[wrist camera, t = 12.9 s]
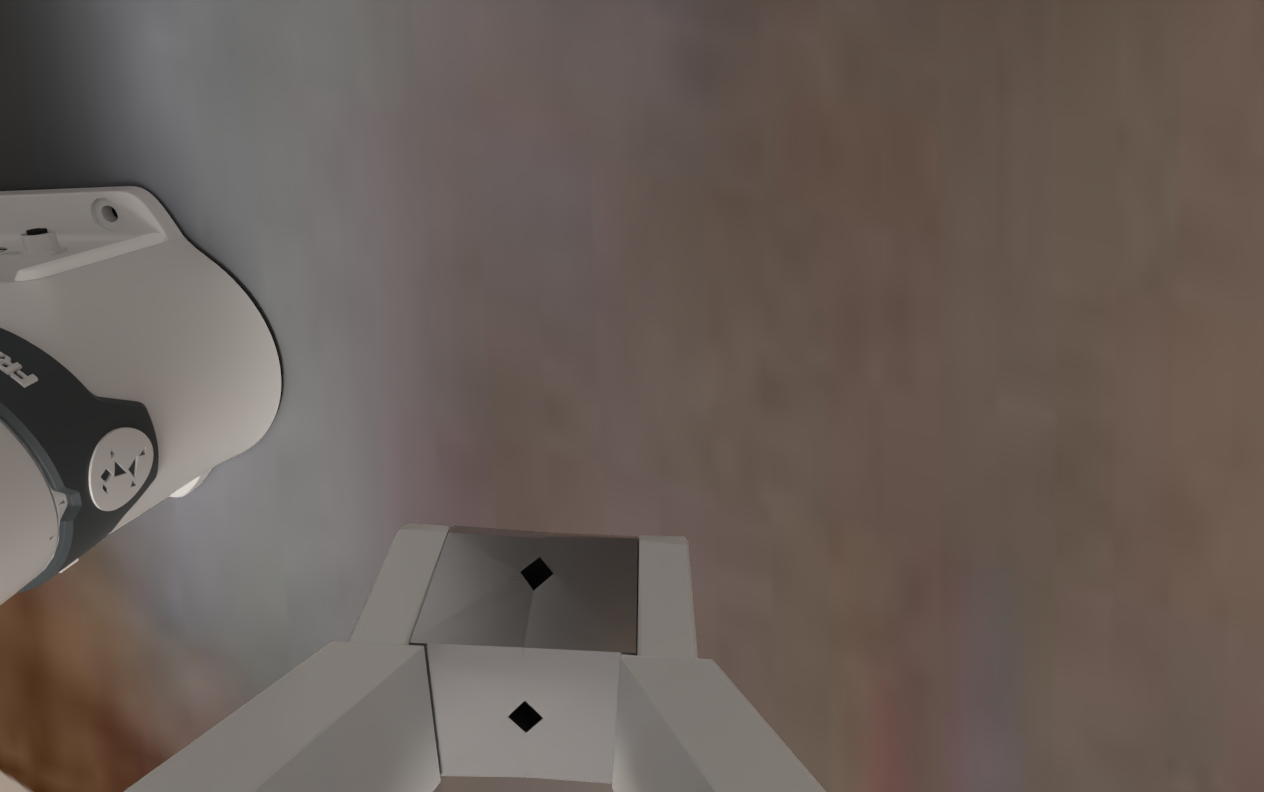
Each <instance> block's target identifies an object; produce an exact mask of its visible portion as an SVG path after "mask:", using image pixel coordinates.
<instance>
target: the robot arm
mask: <svg viewBox="0 0 1264 792" xmlns="http://www.w3.org/2000/svg"><path fill="white" fill-rule="evenodd" d="M112 207H113V208H114V209H115V211H116V212H117V215H118V218H117V217H116V216H115V215H114V214H113V212H112ZM280 396H281V370H280V364H279V358H278V354H277V351H276V347H275V344H274V341H273V339H272V336H271V334H270V332H269V329H268V327H267V325H266V323H265V321H264V320H263V318H262V316H261V314H260V313H259V311H258V310H257V308H256V306H255V305H254V304H253V302H252V301H251V299H250V298H249V297H248V295H247V294H246V293H245V292H244V291H243V289H242V288H241V287H240V286H239V285H238V284H237V283H236V282H235V281H234V280H233V279H232V278H231V277H230V276H229V275H228V274H227V273H226V272H225V271H224V270H223V269H222V268H220V267H219V266H218V265H217V264H216V263H214V262H213V261H212V260H210V259H209V258H208V257H207V256H205V255H204V254H203V253H201V252H200V251H199V250H198V249H196V248H195V247H194V246H193V245H192V244H191V243H190V242H189V241H188V240H187V239H186V238H185V237H184V236H183V235H182V233H181V231H180V230H179V228H178V227H177V226H176V224H175V223H174V221H173V220H172V218H171V217H170V215H169V214H168V213H167V211H166V210H165V209H164V207H163V206H162V205H161V204H160V202H159V201H158V200H157V199H156V198H155V197H154V196H153V195H152V194H151V193H149V192H148V191H146V190H145V189H143V188H140V187H136V186H116V187H92V188H68V189H44V190H20V191H0V605H1V604H3V603H4V602H5V601H6V600H8V599H9V598H10V597H11V596H13V595H14V594H15V593H20V592H24V591H27V590H31V589H33V588H35V587H37V586H39V585H42V584H43V583H45V582H46V581H48V580H49V579H50V578H52V577H53V576H55V575H56V574H57V573H61V572H63V571H64V570H66V569H67V568H69V567H70V566H71V565H73V564H74V563H76V562H77V561H78V560H79V559H78V558H79V557H80V556H82V555H83V554H84V553H86V552H87V551H88V550H89V549H91V548H92V547H93V546H95V545H96V544H97V543H98V542H100V541H101V540H102V539H103V538H105V537H106V536H107V535H109V534H110V533H112V532H113V531H115V530H117V529H118V528H120V527H121V526H123V525H124V524H126V523H128V522H129V521H131V520H132V519H134V518H136V517H137V516H139V515H140V514H142V513H143V512H145V511H147V510H148V509H150V508H151V507H153V506H154V505H156V504H157V503H159V502H160V501H162V500H164V499H165V498H167V497H168V496H170V497H182V496H185V495H186V494H188V493H189V492H191V491H192V490H194V489H196V488H197V487H198V486H199V485H200V484H201V483H202V482H203V481H204V480H205V478H206V477H207V476H208V474H209V473H210V471H211V470H212V468H213V467H214V466H216V465H218V464H220V463H222V462H224V461H226V460H228V459H230V458H232V457H234V456H236V455H238V454H240V453H242V452H244V451H246V450H247V449H249V448H250V447H252V446H253V445H254V444H256V443H257V442H258V441H259V440H260V439H261V438H262V437H263V435H264V434H265V433H266V432H267V430H268V429H269V427H270V426H271V424H272V422H273V420H274V418H275V415H276V413H277V409H278V406H279V402H280ZM440 776H479V777H527V776H528V777H530V778H543V779H557V780H572V781H584V782H598V783H612V788H613V790H614V792H826V791H825V790H824V789H823V787H822V786H821V785H820V784H819V783H818V782H817V780H816V779H815V778H814V777H813V776H812V775H811V773H810V772H809V771H808V770H807V769H806V768H805V766H804V765H803V764H802V763H801V762H800V761H799V759H798V758H797V757H796V756H795V755H794V754H793V752H792V751H791V750H790V749H789V748H788V747H787V745H786V744H785V743H784V742H783V741H782V740H781V738H780V737H779V736H778V735H777V734H776V733H775V731H774V730H773V729H772V728H771V727H770V726H769V724H768V723H767V722H766V721H765V720H764V719H763V717H762V716H761V715H760V714H759V713H758V712H757V710H756V709H755V708H754V707H753V706H752V705H751V703H750V702H749V701H748V700H747V699H746V698H745V696H744V695H743V694H742V693H741V692H740V691H739V689H738V688H737V687H736V686H735V685H734V684H733V682H732V681H731V680H730V679H729V678H728V677H727V675H726V674H725V673H724V672H723V671H722V670H721V668H720V667H719V666H718V665H717V664H716V663H715V661H714V660H712V659H698V657H697V645H696V632H695V620H694V608H693V596H692V583H691V571H690V559H689V546H688V542H687V540H686V539H685V537H681V536H645V535H639V537H638V538H637V536H619V535H595V534H572V533H549V532H535V531H522V530H508V529H494V528H480V527H466V526H453V527H450V526H441V525H427V524H412V523H406V524H405V525H404V526H403V527H402V528H401V529H400V530H399V531H398V532H397V533H396V535H395V537H394V539H393V542H392V544H391V546H390V548H389V550H388V553H387V555H386V557H385V559H384V561H383V564H382V566H381V568H380V570H379V573H378V575H377V577H376V579H375V581H374V584H373V586H372V588H371V590H370V592H369V595H368V597H367V599H366V601H365V604H364V606H363V608H362V610H361V612H360V615H359V617H358V619H357V621H356V623H355V626H354V628H353V630H352V632H351V635H350V637H349V639H348V641H347V642H330V643H329V644H327V645H326V646H325V647H323V648H322V649H321V650H319V651H318V652H316V653H315V654H314V655H312V656H311V657H309V658H308V659H307V660H305V661H304V662H303V663H301V664H300V665H298V666H297V667H296V668H294V669H293V670H291V671H290V672H289V673H287V674H286V675H284V676H283V677H282V678H280V679H279V680H278V681H276V682H275V683H273V684H272V685H271V686H269V687H268V688H266V689H265V690H264V691H262V692H261V693H260V694H258V695H257V696H255V697H254V698H253V699H251V700H250V701H248V702H247V703H246V704H244V705H243V706H242V707H240V708H239V709H237V710H236V711H235V712H233V713H232V714H230V715H229V716H228V717H226V718H225V719H224V720H222V721H221V722H219V723H218V724H217V725H215V726H214V727H212V728H211V729H210V730H208V731H207V732H205V733H204V734H203V735H201V736H200V737H199V738H197V739H196V740H194V741H193V742H192V743H190V744H189V745H187V746H186V747H185V748H183V749H182V750H181V751H179V752H178V753H176V754H175V755H174V756H172V757H171V758H169V759H168V760H167V761H165V762H164V763H163V764H161V765H160V766H158V767H157V768H156V769H154V770H153V771H151V772H150V773H149V774H147V775H146V776H145V777H143V778H142V779H140V780H139V781H138V782H136V783H135V784H133V785H132V786H131V787H129V788H128V789H126V790H125V791H124V792H433V790H434V789H435V788H436V787H437V786H438V784H439V783H440V782H441V780H440Z"/></svg>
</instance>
